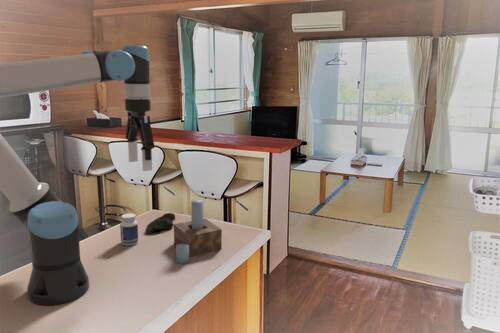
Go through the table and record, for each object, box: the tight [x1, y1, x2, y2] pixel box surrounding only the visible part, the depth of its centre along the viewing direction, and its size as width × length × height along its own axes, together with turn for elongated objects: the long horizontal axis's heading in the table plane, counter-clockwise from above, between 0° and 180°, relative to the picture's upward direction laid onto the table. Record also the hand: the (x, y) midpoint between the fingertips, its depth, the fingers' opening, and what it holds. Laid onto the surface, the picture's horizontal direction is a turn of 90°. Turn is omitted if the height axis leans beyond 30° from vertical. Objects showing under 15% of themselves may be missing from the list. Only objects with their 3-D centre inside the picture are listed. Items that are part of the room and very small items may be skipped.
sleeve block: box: [173, 217, 223, 257], centre depth 145 cm, size 12×12×7 cm
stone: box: [145, 212, 176, 235], centre depth 159 cm, size 7×13×5 cm, turn 141°
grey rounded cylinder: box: [175, 244, 190, 265], centre depth 134 cm, size 4×4×5 cm
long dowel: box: [190, 199, 204, 231], centre depth 144 cm, size 4×4×16 cm
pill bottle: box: [119, 212, 139, 247], centre depth 146 cm, size 6×6×10 cm
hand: (140, 165), depth 135 cm, fingers open, 13 cm apart
